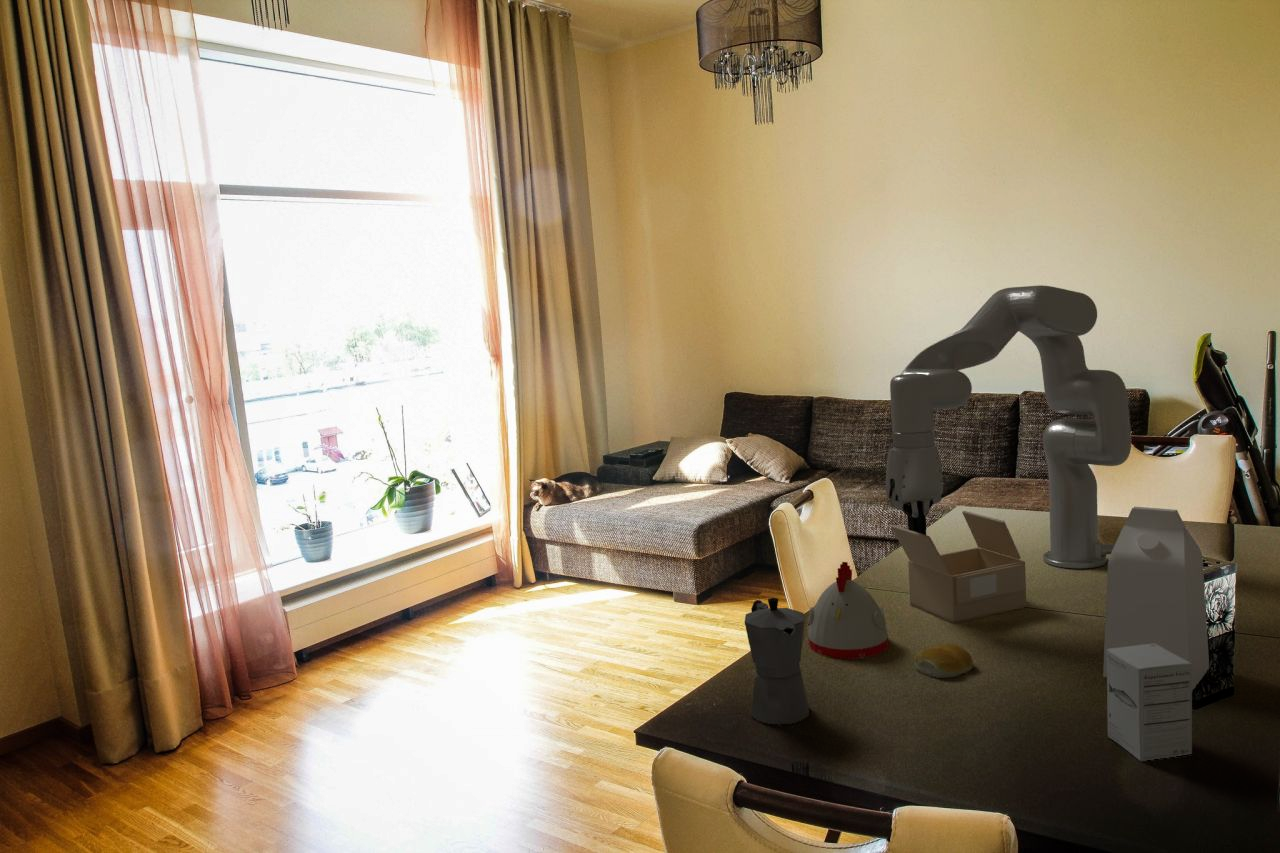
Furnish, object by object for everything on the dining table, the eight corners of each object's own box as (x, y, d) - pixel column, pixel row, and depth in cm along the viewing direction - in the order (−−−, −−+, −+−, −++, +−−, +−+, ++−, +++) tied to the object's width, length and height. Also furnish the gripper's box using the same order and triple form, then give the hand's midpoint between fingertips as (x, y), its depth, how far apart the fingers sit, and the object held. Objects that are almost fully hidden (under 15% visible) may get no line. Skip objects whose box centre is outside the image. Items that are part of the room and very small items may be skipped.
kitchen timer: (799, 654, 164) (794, 572, 162) (819, 628, 176) (815, 551, 175) (879, 662, 158) (875, 576, 156) (894, 634, 170) (890, 554, 169)
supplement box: (1105, 737, 126) (1104, 647, 125) (1158, 731, 127) (1156, 641, 125) (1139, 763, 119) (1137, 668, 117) (1194, 756, 119) (1193, 661, 118)
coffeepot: (827, 725, 136) (820, 606, 134) (766, 736, 134) (758, 615, 132) (787, 685, 151) (780, 578, 149) (732, 695, 149) (724, 586, 147)
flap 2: (979, 545, 189) (963, 510, 187) (1020, 558, 178) (1004, 521, 176) (978, 547, 189) (962, 512, 186) (1019, 559, 178) (1002, 522, 176)
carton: (977, 589, 191) (976, 546, 190) (1029, 608, 178) (1027, 562, 177) (908, 604, 186) (906, 560, 184) (956, 625, 172) (954, 577, 171)
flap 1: (911, 559, 183) (892, 524, 181) (949, 572, 173) (929, 536, 170) (909, 560, 183) (890, 526, 181) (947, 574, 172) (927, 537, 170)
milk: (1209, 668, 145) (1208, 504, 142) (1190, 693, 137) (1189, 520, 134) (1125, 653, 153) (1123, 498, 150) (1103, 676, 145) (1099, 513, 142)
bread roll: (982, 668, 152) (981, 645, 152) (946, 683, 148) (945, 659, 147) (941, 655, 159) (940, 632, 159) (905, 669, 155) (904, 646, 154)
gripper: (933, 433, 180) (937, 526, 182) (867, 443, 175) (872, 538, 177) (959, 437, 173) (963, 533, 175) (891, 447, 168) (896, 546, 170)
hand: (917, 535), depth 176 cm, fingers closed
